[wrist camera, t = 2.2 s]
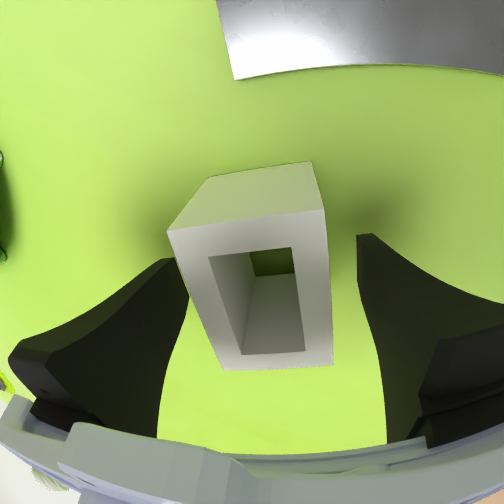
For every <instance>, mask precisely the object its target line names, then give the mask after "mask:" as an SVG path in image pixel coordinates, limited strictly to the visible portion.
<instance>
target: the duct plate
mask: <svg viewBox="0 0 504 504" xmlns="http://www.w3.org/2000/svg"><path fill="white" fill-rule="evenodd" d="M216 3H217V7H218V11H219V15H220V20H221V24H222V28H223V32H224V36H225V40H226V45H227V49H228V53H229V57H230V62H231V66H232V70H233V75H234V79H235V80H244V79H249V78H254V77H259V76H265V75H271V74H277V73H283V72H290V71H298V70H306V69H315V68H326V67H338V66H356V65H415V66H432V67H444V68H453V69H462V70H469V71H476V72H482V73H488V74H494V75H499V76H504V0H216Z"/></svg>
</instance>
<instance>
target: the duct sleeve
mask: <svg viewBox="0 0 504 504" xmlns="http://www.w3.org/2000/svg"><path fill="white" fill-rule="evenodd" d="M166 232H167V235H168V237H169V240H170V243H171V246H172V248H173V251H174V254H175V256H176V259H177V262H178V264H179V267H180V270H181V272H182V275H183V277H184V280H185V282H186V285H187V287H188V290H189V293H190V295H191V297H192V300H193V302H194V305H195V307H196V310H197V312H198V314H199V317H200V319H201V322H202V324H203V326H204V329H205V331H206V333H207V336H208V338H209V340H210V342H211V345H212V347H213V349H214V351H215V354H216V356H217V358H218V360H219V363H220V365H221V367H222V369H223V371H241V370H271V369H289V368H303V367H315V366H326V365H333V325H332V301H331V283H330V268H329V255H328V243H327V231H326V221H325V211H324V206H323V202H322V199H321V195H320V191H319V188H318V184H317V181H316V177H315V174H314V170H313V167H312V164H311V161H308V162H300V163H293V164H286V165H279V166H272V167H265V168H259V169H253V170H247V171H241V172H235V173H230V174H224V175H219V176H213V177H208V178H207V179H206V181H205V182H204V183H203V184H202V186H201V187H200V188H199V189H198V191H197V192H196V193H195V194H194V196H193V197H192V198H191V199H190V201H189V202H188V203H187V205H186V206H185V207H184V208H183V210H182V211H181V212H180V214H179V215H178V216H177V217H176V219H175V220H174V221H173V223H172V224H171V225H170V227H169V228H168V229H167V231H166ZM286 247H291V249H292V255H293V262H294V269H295V273H291V274H281V275H272V276H262V277H255V274H254V270H253V266H252V262H251V258H250V253H249V252H252V251H261V250H269V249H278V248H286Z"/></svg>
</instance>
